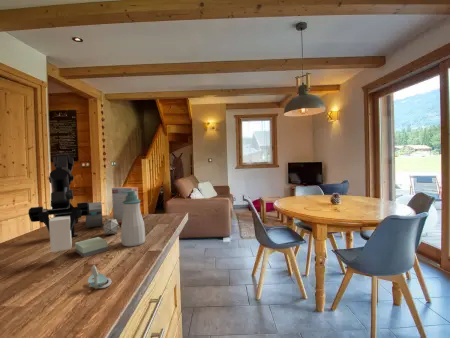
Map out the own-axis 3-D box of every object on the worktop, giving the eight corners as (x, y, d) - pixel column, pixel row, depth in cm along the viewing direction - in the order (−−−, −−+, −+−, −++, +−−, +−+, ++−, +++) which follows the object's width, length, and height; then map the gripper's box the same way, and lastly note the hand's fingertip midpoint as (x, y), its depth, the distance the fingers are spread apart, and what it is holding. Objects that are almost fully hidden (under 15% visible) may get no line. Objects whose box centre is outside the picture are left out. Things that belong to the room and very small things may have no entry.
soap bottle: (117, 243, 108) (115, 191, 107) (138, 238, 115) (136, 189, 114) (128, 248, 101) (125, 193, 100) (149, 242, 108) (147, 190, 107)
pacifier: (110, 278, 77) (88, 282, 74) (109, 258, 77) (87, 262, 74) (113, 288, 71) (89, 294, 67) (112, 266, 70) (88, 271, 67)
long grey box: (87, 220, 152) (86, 203, 152) (101, 219, 156) (101, 201, 155) (86, 230, 130) (85, 210, 129) (102, 228, 133) (101, 208, 133)
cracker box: (140, 222, 144) (138, 186, 143) (133, 225, 139) (131, 187, 138) (120, 221, 149) (118, 186, 148) (113, 223, 143) (111, 187, 142)
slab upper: (75, 248, 99) (74, 242, 99) (98, 241, 106) (98, 236, 106) (83, 253, 93) (82, 247, 93) (107, 246, 100) (107, 241, 100)
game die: (113, 242, 121) (111, 229, 115) (98, 236, 122) (95, 223, 116) (125, 229, 128) (123, 216, 122) (111, 223, 129) (109, 210, 123)
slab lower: (75, 253, 100) (75, 247, 100) (98, 246, 106) (98, 241, 106) (83, 258, 94) (83, 253, 94) (107, 251, 100) (107, 246, 100)
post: (52, 247, 91) (51, 217, 91) (71, 244, 94) (70, 215, 94) (50, 252, 86) (48, 221, 86) (71, 248, 89) (69, 218, 89)
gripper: (27, 185, 88) (22, 222, 79) (87, 181, 97) (89, 214, 88) (33, 204, 95) (29, 240, 86) (88, 198, 104) (90, 231, 95)
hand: (60, 230), depth 89 cm, fingers closed on post, 6 cm apart
